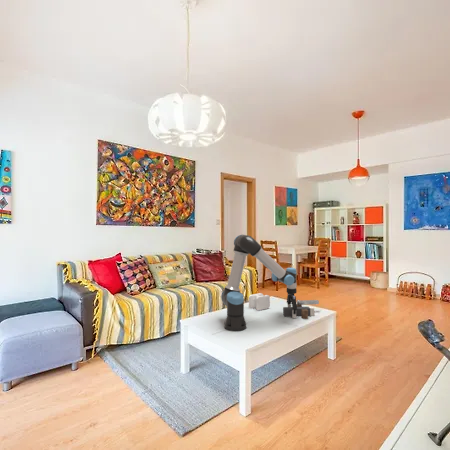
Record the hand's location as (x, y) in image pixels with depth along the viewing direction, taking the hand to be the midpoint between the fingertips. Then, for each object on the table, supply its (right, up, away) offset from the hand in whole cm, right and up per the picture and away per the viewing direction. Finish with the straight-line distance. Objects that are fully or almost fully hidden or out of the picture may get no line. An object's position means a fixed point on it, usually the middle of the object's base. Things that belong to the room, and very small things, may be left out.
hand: (291, 315), depth 222 cm
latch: (+15, +6, +8) cm, 18 cm away
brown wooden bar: (+8, 0, 0) cm, 8 cm away
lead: (+5, 0, 0) cm, 5 cm away
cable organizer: (-23, -1, +19) cm, 30 cm away
